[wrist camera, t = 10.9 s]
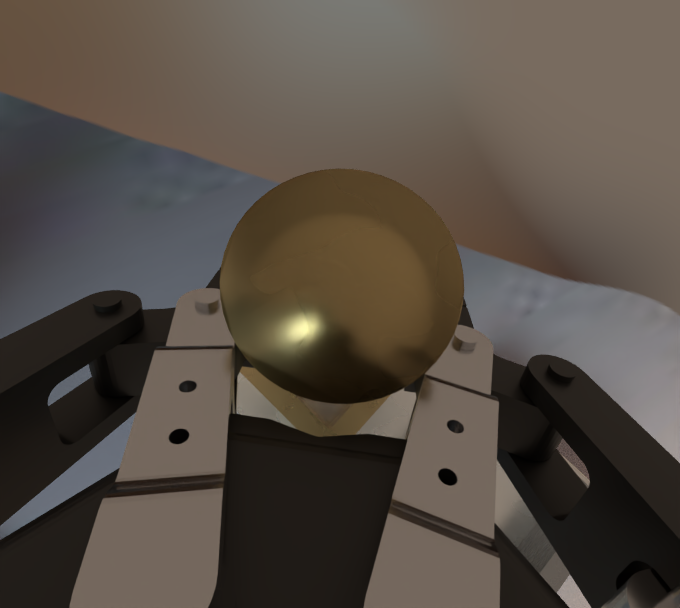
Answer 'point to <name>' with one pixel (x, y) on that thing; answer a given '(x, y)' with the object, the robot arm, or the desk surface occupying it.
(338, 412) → the white socket tray
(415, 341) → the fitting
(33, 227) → the desk surface
